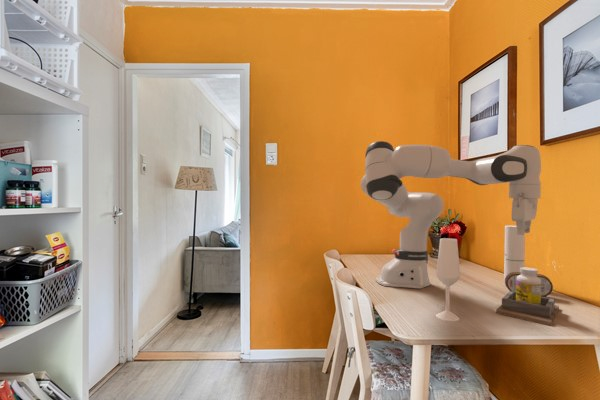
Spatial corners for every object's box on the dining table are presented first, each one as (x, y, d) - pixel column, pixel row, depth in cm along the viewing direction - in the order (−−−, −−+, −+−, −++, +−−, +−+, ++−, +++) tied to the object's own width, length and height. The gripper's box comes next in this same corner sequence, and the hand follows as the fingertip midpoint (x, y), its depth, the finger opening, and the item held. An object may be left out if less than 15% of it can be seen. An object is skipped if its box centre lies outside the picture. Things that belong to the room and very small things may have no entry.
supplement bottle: (510, 304, 108) (511, 266, 108) (529, 304, 108) (530, 266, 108) (526, 311, 101) (527, 271, 101) (546, 311, 102) (546, 271, 102)
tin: (551, 296, 121) (551, 274, 121) (553, 299, 118) (554, 276, 118) (504, 291, 127) (504, 270, 127) (505, 293, 124) (505, 271, 124)
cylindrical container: (517, 282, 141) (518, 225, 140) (527, 287, 133) (528, 227, 133) (500, 282, 141) (501, 225, 141) (509, 286, 134) (510, 226, 134)
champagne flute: (432, 312, 102) (433, 237, 102) (453, 313, 102) (454, 237, 102) (440, 320, 96) (441, 240, 95) (463, 321, 95) (464, 240, 95)
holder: (551, 325, 93) (551, 311, 93) (495, 313, 103) (496, 300, 102) (558, 308, 107) (559, 296, 107) (509, 299, 117) (509, 288, 117)
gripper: (529, 192, 100) (529, 237, 100) (540, 193, 115) (540, 232, 115) (506, 192, 104) (505, 235, 105) (519, 193, 119) (519, 230, 119)
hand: (523, 233), depth 110 cm, fingers open, 8 cm apart
